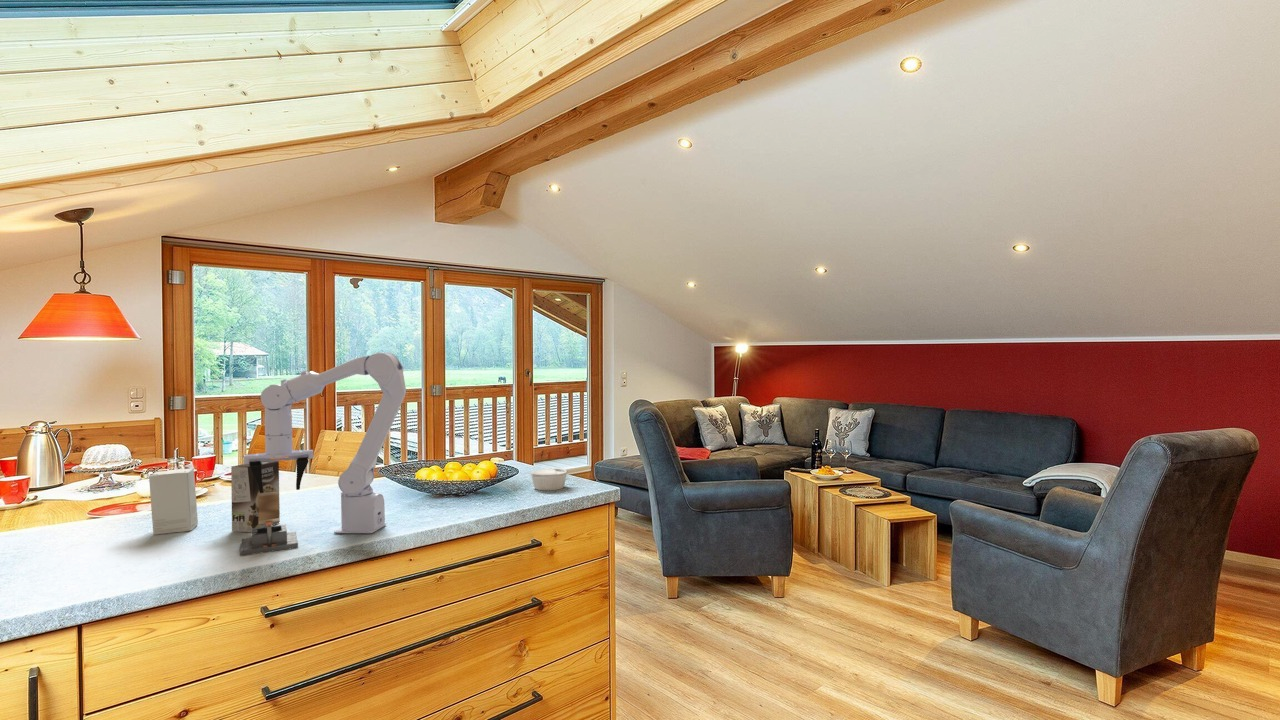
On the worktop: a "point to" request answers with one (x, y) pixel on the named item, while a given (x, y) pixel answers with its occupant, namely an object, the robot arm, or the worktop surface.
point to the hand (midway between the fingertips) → (279, 490)
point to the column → (268, 507)
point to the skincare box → (173, 501)
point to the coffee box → (250, 494)
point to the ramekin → (549, 479)
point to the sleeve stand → (268, 539)
